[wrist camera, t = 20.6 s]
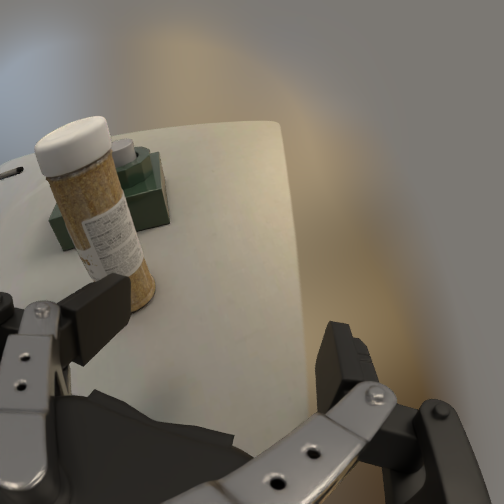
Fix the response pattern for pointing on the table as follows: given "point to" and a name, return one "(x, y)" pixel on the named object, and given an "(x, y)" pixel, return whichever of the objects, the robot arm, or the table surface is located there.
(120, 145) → the grey short cylinder
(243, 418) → the table surface
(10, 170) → the pen
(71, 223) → the sprinkles bottle
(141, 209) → the push button box
